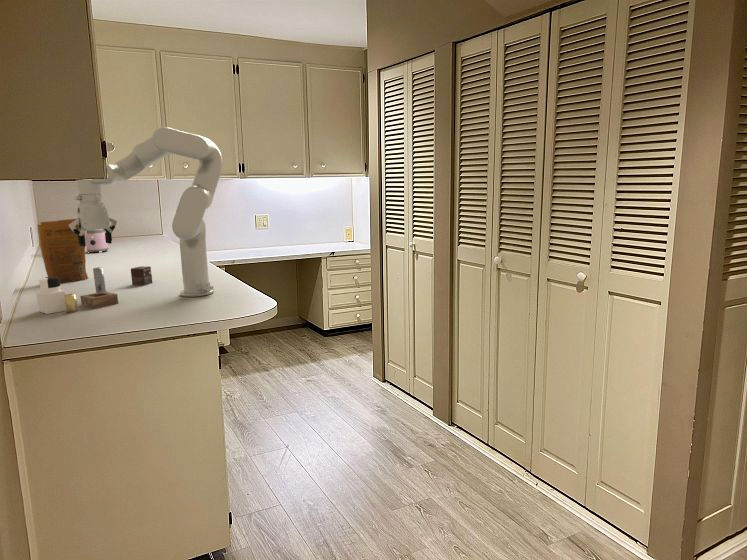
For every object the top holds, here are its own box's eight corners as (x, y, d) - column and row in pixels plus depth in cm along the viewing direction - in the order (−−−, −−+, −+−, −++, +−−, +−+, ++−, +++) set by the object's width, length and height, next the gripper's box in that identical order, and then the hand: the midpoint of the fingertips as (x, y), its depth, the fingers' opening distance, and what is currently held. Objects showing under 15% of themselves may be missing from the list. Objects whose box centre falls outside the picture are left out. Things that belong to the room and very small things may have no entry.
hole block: (118, 303, 201) (117, 293, 200) (93, 308, 194) (92, 298, 193) (105, 300, 206) (104, 291, 206) (81, 305, 199) (80, 296, 199)
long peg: (108, 298, 209) (104, 267, 207) (99, 300, 207) (95, 269, 204) (103, 297, 211) (100, 267, 209) (95, 299, 209) (91, 268, 206)
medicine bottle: (60, 307, 197) (55, 274, 195) (68, 310, 192) (64, 276, 190) (38, 311, 192) (33, 278, 189) (46, 314, 187) (41, 280, 185)
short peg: (79, 311, 190) (77, 294, 189) (69, 313, 188) (67, 296, 187) (75, 310, 192) (72, 293, 191) (64, 312, 190) (62, 295, 189)
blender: (92, 251, 354) (85, 201, 348) (111, 250, 355) (105, 200, 349) (81, 254, 338) (74, 202, 332) (102, 253, 339) (95, 201, 333)
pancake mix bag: (93, 279, 251) (85, 218, 245) (45, 285, 240) (36, 221, 234) (90, 277, 256) (82, 217, 251) (43, 283, 245) (34, 220, 240)
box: (144, 285, 233) (142, 268, 232) (131, 285, 235) (130, 268, 233) (152, 282, 239) (151, 266, 238) (140, 282, 240) (138, 266, 239)
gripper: (70, 200, 194) (76, 248, 197) (118, 197, 207) (123, 242, 211) (61, 200, 199) (67, 246, 202) (108, 197, 212) (113, 241, 215)
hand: (96, 244), depth 206 cm, fingers open, 9 cm apart
